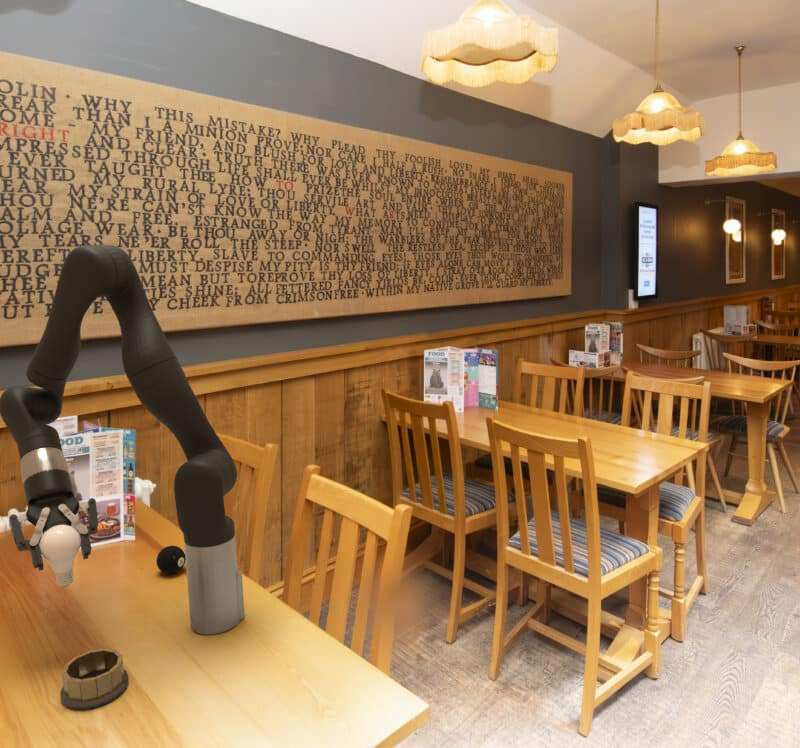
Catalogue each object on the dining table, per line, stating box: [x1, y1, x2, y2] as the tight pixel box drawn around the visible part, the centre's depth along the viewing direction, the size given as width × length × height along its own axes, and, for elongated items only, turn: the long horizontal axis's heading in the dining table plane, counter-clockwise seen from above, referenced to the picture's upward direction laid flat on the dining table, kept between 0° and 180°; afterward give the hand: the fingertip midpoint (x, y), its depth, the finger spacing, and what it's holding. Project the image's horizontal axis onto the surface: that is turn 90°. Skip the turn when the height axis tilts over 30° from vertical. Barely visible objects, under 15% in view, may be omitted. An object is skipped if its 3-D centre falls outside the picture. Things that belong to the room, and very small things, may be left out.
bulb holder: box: [59, 648, 130, 711], centre depth 106 cm, size 10×10×4 cm
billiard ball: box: [156, 545, 186, 575], centre depth 146 cm, size 6×6×6 cm
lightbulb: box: [39, 525, 81, 588], centre depth 113 cm, size 6×6×11 cm
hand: (64, 562), depth 112 cm, fingers closed on lightbulb, 6 cm apart
